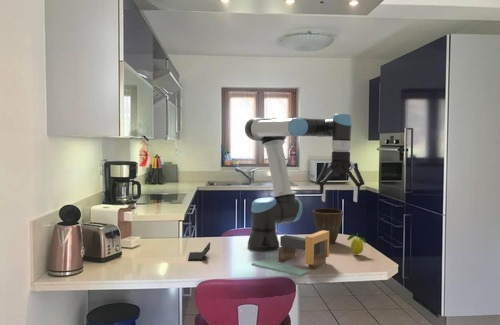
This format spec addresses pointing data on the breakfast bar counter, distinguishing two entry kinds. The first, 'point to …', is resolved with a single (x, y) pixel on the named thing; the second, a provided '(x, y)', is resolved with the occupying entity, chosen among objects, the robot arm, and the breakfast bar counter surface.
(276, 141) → the robot arm
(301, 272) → the mat
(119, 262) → the breakfast bar counter surface
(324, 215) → the plant pot
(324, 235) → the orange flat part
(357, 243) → the lemon
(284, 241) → the grey rectangular bar
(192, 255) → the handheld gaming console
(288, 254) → the cradle
